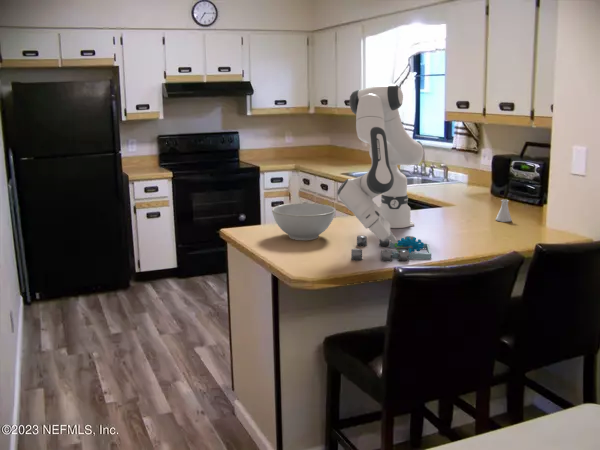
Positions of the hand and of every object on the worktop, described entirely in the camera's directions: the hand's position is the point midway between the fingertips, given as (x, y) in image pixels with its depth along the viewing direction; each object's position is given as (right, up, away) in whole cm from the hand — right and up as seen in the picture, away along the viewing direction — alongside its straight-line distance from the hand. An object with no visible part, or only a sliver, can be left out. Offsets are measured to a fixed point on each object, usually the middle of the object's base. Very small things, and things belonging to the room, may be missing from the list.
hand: (395, 241), depth 235 cm
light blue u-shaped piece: (+5, -4, +2) cm, 7 cm away
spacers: (-4, -4, +3) cm, 6 cm away
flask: (+60, +8, +58) cm, 84 cm away
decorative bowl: (-35, +1, +27) cm, 44 cm away
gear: (+5, -5, 0) cm, 7 cm away
